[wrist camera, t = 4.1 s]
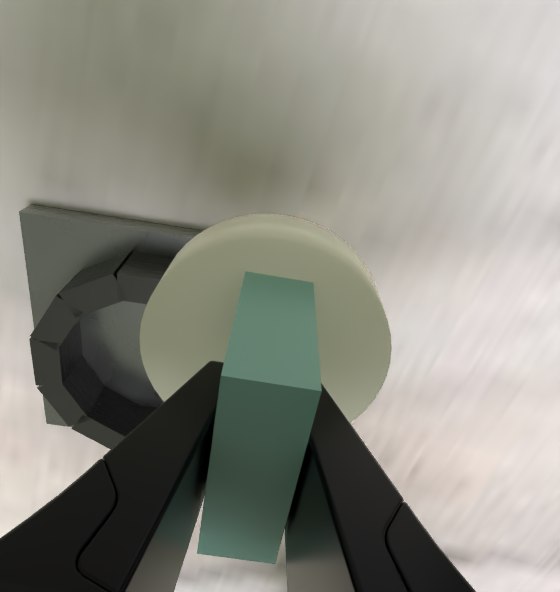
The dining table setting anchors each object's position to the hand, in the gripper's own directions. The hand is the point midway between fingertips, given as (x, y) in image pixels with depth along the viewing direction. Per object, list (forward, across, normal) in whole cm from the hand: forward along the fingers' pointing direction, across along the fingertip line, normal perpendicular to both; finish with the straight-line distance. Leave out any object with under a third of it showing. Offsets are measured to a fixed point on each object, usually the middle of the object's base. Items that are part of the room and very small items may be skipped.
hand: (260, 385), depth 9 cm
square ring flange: (+12, +4, +7) cm, 15 cm away
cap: (+3, 0, 0) cm, 3 cm away
